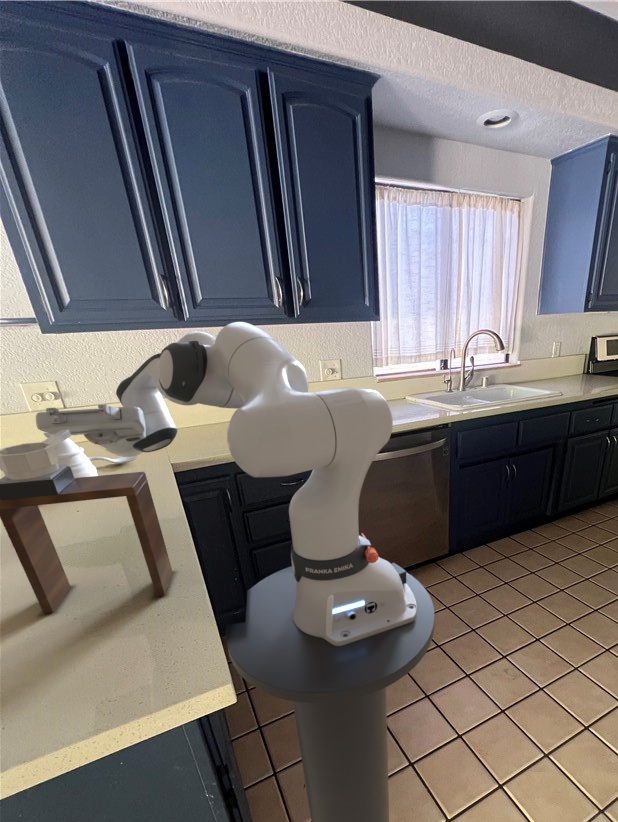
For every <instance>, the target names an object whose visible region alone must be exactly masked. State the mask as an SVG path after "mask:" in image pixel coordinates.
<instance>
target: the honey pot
mask: <svg viewBox="0 0 618 822" xmlns="http://www.w3.org/2000/svg"><path fill="white" fill-rule="evenodd" d="M42 434H43V435H44V437H45V438H46V439H48V438H49V437H51V436H53V435H52V434H49V433H46V432H44V431H42ZM54 449H55V452H56V454H57V457H58V460H59V461H57V462H58V465H63V464H67V467H68V466H70V468H71V470H72V473H73V476H74V478H81V477H92V476H99V473H98V471H97V468H96V466H95V465H94V464H93V463H92V460H91V461H89V458H88V456H87V455H86V454H85V453H84V451H85V450H84V448H83V447H81V446H78V444H76V443H75V442H74V441H73V440H71V439H70V437H69V438H67V439H66V440H64V441H63V442H61V443H60V444H58V445H56V446H55V447H54Z"/></svg>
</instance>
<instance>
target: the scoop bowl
mask: <svg viewBox="0 0 618 822" xmlns="http://www.w3.org/2000/svg"><path fill="white" fill-rule="evenodd" d="M71 437H72V436H71V433H70V431H69V430H62V431H60V432H58V433H56V434H55V435H53V436H51V437H49V438H46V439H44V440H42V441H40V442H28V443H27V442H26V443H20V444H16V445H12V446H11V445H10V446H7V447H3V448H1V449H0V471H1V472H3V474H4V476H6V478H7V479H10V480H23V479H31V478H36V477H41V476H44V475H48V474H51V473H53V472H55V471H57V470H58V469H59V465H58V462H57V461H59V460H58V457H57V454H56V452H55V449H54V447H55V446H56V445H58V444H60V443H61V442H63V441H64V440H66V439H67V438H69V439H70V438H71Z"/></svg>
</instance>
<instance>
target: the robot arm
mask: <svg viewBox="0 0 618 822" xmlns="http://www.w3.org/2000/svg"><path fill="white" fill-rule="evenodd" d="M161 350H162V351H161V352H159V353H155V354H154V355H152V356H150V357H148V358H147V359H146V360H145V361H144V362H143V363H142V364H141V365H140V366H139V367H138V369H136V370H135V371H134V372H133V373H132V375H129V376H128V377H126V378H124V379H123V380H122V381H120V383H119V384H118V386H117V388H116V390H115V395H116V397H117V399H118V401H119V402H120V404H121V406H115V407H114V406H109V405H108V404H106V403H104V404H98V405H97V408H86V409H85V408H84V409H70V410H59V409H58V408H56V407H46V408H45V411H40V412H36V414H35V424H36V428H37V430H39V431H41V432H46V433H49V434H52V435H55V434H56V433H58V432H60V431H62V430H69V431H70V433H71V436H70V437H72V436H84V438H85V439H86V440H87V441H89V442H90V443H92V444H93V445H95V446H98V447H100V448H101V449H104V450H105V451H107V452H109V453H111V454H112V455H115V456H118V457H134V456H137V455H138V456H139V455H141V454H142V453H152V452H156V451H159V450H162V449H165V448H166V447H168V446H169V445H171V444H172V442H173V441H174V440H175V438H176V437H177V434H178V428H177V426H176V423H175V422H174V418H173V417H172V414H171V413H170V411H169V408H168V406H167V404H166V401H165V399H167V400H168V401H170V402H172V403H174V404H177V405H179V406H180V405H181V406H195V405H198V404H200V405H203V406H210V407H216V408H221V409H234V410H235V409H236V410H235V411H234V412H233V414H232V416H231V417H230V420H229V423H228V426H227V431H226V441H227V447H228V450H229V453H230V455H231V457H232V459H233V461H234V462H235V464H236V465H237V466H238V467H239V468H240V469H241V470H242V471H243V472H244V473H246V474H247V475H249V476H250V477H253V478H279V477H289V476H293V475H297V474H300V473H304V472H308V471H311V473H310V475H309V477H308V479H307V480H306V482H305V483H304V484H303V485H302V486H301V487H300V488H299V489H297V490H296V491H295V493H294V494H293V495H292V498H291V500H290V502H289V506H288V516H289V517H288V518H289V524H290V533H291V540H292V543H291V546H290V560H291V566H292V568H293V574H294V576H295V579H296V597H295V605H294V609H293V621H294V623H295V625H296V626H297V627H298V628H299V629H300V630H302V631H303V632H305V633H307V634H309V635H312V636H316V637H320V638H323V639H325V640H327V641H328V642H329V643H331V644H333V645H335V646H343V645H346V644H348V643H351V642H354V641H357V640H360V639H363V638H366V637H369V636H372V635H375V634H378V633H381V632H384V631H387V630H389V629H392V628H395V627H398V626H401V625H404V624H407V623H410V622H412V621H414V620H415V619H416V616H417V604H416V600H415V597H414V595H413V593H412V591H411V589H410V588H409V587H408V585H407V584H406V573H407V571H406V570H405V569H404V568H403V567H401V566H400V565H398V564H396V563H395V562H392V563H391V562H390V561H388V560H386V559H385V558H382V557H380V556H379V553H378V552H377V550H376V548H375V547H372V544H371V542H370V540H369V539H367V537H366V535H364V533H363V532H361V535H360V533H359V531H360V530H359V527H360V526H359V508H360V507H359V505H360V496H361V492H362V488H363V484H364V482H365V479H366V476H367V473H368V471H369V469H370V467H371V465H372V463H373V461H374V459H375V458H376V456H377V455H378V454H379V453H380V451H381V450H382V449H383V448H384V447H385V446H386V445H387V444H388V442H389V440H390V438H391V435H392V432H393V427H394V426H393V425H394V424H393V423H394V421H393V414H392V411H391V407H390V405H389V403H388V401H387V400H386V399H385V398H384V396H383V395H382V394H381V393H380V392H379V391H377V390H374V389H369V388H363V387H362V388H361V387H349V386H348V387H347V386H345V387H339V388H333V389H325V390H319V391H309V378H308V374H307V372H306V370H305V367H304V366H303V365H302V363H301V362H300V361H298V360H297V358H295V356H294V355H293V354H291V353H290V352H289V351H288V349H286V348H285V347H284V346H283V345H282V344H281V343H280V342H278V341H277V340H276V338H274V337H273V336H272V335H270V334H269V333H267V332H266V331H264V330H263V329H261V328H259V327H258V326H255V325H253V324H251V323H248V322H244V321H233V322H231V323H228V324H226V325H225V326H223V327H222V328H221V329H220V331H218V333H217V335H216V337H215V336H213V335H212V334H210V333H208V332H205V331H195V330H194V331H190V332H188V333H186V334H185V335H184V336H182V337H181V338H180V339H179V340H178V341H177V342H171V343H169V344H167V345H166V346H165V347H164V348H163V349H161ZM164 398H165V399H164ZM138 456H137V457H138Z"/></svg>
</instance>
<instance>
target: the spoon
mask: <svg viewBox="0 0 618 822" xmlns="http://www.w3.org/2000/svg"><path fill="white" fill-rule="evenodd" d="M138 456H139V455H137V456H134V457H122V456H120V457H117V458H109V457H104V456H89V457H88V456H87V457H88V458H89V461H91V462H92V461H105V462H108V463H112V464H115V465H117V464H118V465H121V464H122V465H123V464H126V463H127V464H128V463H129V462H132V461H134V460H136V458H137V457H138Z"/></svg>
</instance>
